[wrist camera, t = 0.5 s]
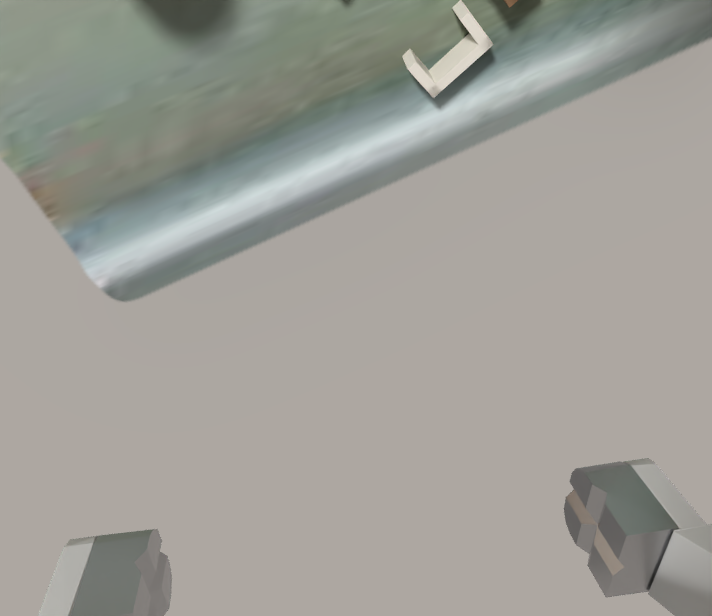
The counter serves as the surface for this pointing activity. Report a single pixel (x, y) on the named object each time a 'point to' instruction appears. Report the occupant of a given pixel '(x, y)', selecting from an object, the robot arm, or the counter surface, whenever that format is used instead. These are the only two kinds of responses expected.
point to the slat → (510, 2)
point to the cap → (451, 55)
